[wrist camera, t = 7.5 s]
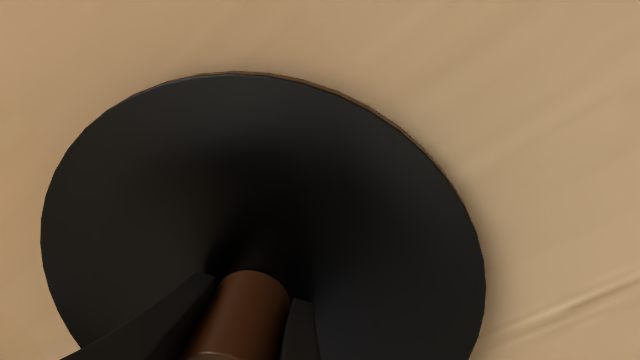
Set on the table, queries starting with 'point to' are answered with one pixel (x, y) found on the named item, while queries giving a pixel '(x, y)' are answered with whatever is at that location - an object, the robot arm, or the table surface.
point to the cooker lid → (263, 223)
